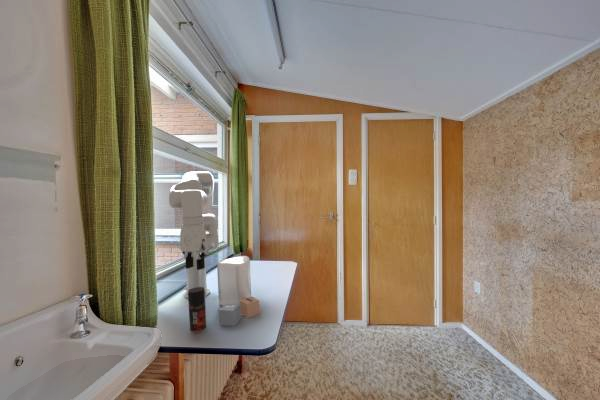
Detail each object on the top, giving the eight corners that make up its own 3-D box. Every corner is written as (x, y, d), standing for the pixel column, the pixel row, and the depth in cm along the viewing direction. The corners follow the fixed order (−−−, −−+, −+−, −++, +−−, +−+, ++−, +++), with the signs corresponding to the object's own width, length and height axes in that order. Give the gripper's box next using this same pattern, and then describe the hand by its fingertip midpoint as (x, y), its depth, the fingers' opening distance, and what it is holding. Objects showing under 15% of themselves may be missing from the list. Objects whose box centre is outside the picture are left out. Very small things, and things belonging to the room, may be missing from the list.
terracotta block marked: (240, 314, 114) (239, 299, 114) (252, 309, 118) (251, 295, 118) (247, 318, 110) (246, 303, 109) (259, 313, 114) (259, 299, 114)
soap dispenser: (217, 306, 124) (215, 259, 123) (238, 295, 136) (236, 252, 136) (243, 311, 117) (240, 261, 116) (262, 299, 129) (260, 254, 129)
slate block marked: (219, 325, 105) (218, 309, 105) (226, 318, 111) (226, 303, 111) (233, 325, 104) (232, 310, 104) (240, 318, 109) (239, 303, 109)
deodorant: (190, 333, 99) (188, 293, 99) (189, 326, 104) (187, 288, 104) (206, 329, 101) (204, 290, 101) (205, 323, 107) (203, 286, 107)
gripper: (169, 222, 103) (172, 269, 103) (201, 222, 95) (203, 273, 95) (185, 220, 110) (188, 264, 110) (216, 220, 102) (218, 267, 102)
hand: (195, 267), depth 103 cm, fingers open, 5 cm apart
